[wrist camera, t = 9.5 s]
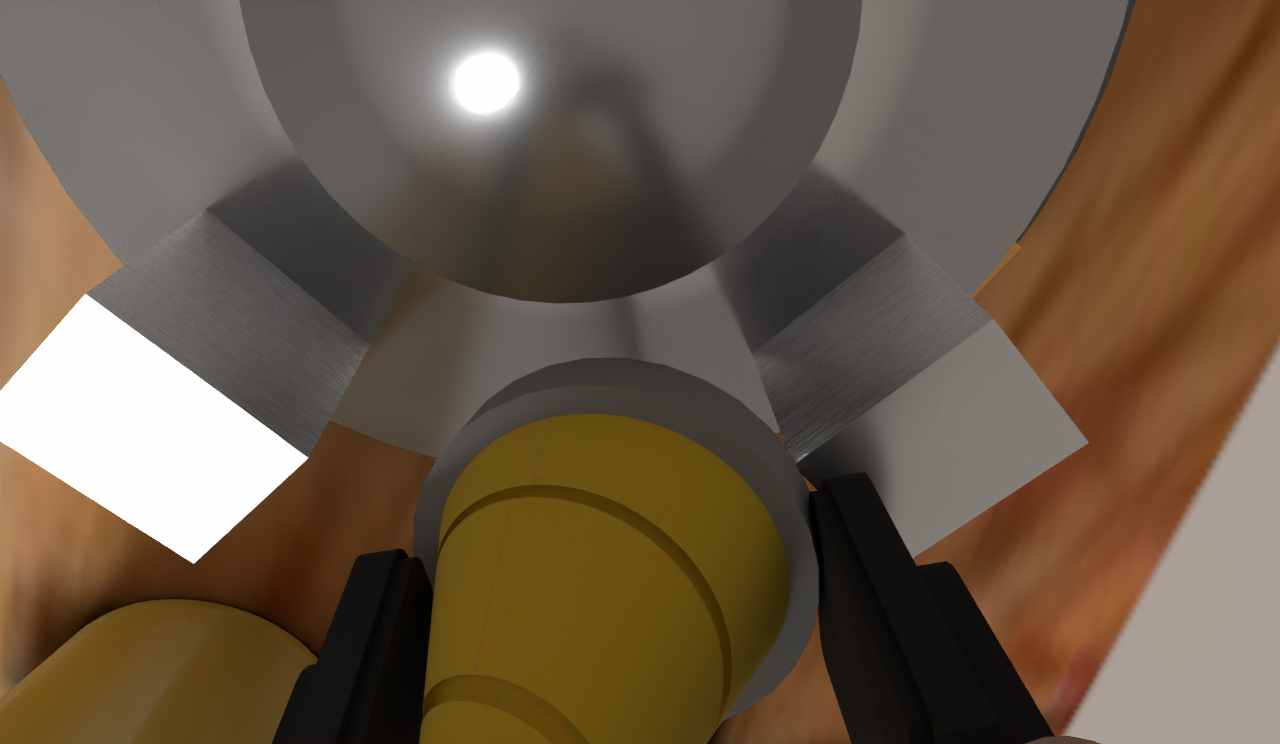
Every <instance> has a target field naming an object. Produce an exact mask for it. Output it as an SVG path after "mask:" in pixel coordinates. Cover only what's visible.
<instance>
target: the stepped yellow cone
mask: <svg viewBox="0 0 1280 744" xmlns="http://www.w3.org/2000/svg"><path fill="white" fill-rule="evenodd" d="M809 493H810V491H809V489H808V487H807V485H806V483H805V481H804V479H803V477H802V475H801V473H800V472H799V470H798V468H797V466H796V465H795V460H794V458H793V457H792V455H791V454H790V453H789V451H788V450H787V449H786V448H785V446H784V445H783V444H782V442H781V441H780V440H779V438H778V437H777V436H776V435H775V433H774V432H773V431H772V429H771V428H770V427H769V426H768V425H767V424H766V423H765V422H763V421H762V420H761V419H760V418H759V417H758V416H757V415H755V414H754V413H753V412H752V411H751V410H750V409H749V408H748V407H746V406H745V405H744V404H743V403H742V402H741V401H740V400H738V399H736V398H735V397H733V396H731V395H730V394H728V393H726V392H725V391H723V390H721V389H720V388H718V387H716V386H714V385H713V384H711V383H709V382H708V381H706V380H704V379H702V378H699V377H697V376H694V375H691V374H689V373H686V372H683V371H680V370H678V369H675V368H672V367H670V366H667V365H664V364H658V363H652V362H647V361H641V360H635V359H629V358H583V359H578V360H573V361H568V362H564V363H559V364H554V365H549V366H546V367H544V368H541V369H539V370H537V371H535V372H532V373H530V374H528V375H525V376H523V377H521V378H519V379H516V380H514V381H513V382H511V383H510V384H509V385H507V386H506V387H504V388H503V389H502V390H500V391H499V392H498V393H496V394H495V395H493V396H492V397H491V398H489V399H488V400H487V401H486V402H485V403H484V404H483V405H482V406H481V407H480V409H479V410H478V411H477V412H476V413H475V414H474V415H473V417H472V418H471V419H470V420H469V421H468V422H467V423H466V425H465V426H464V427H463V428H462V429H461V430H460V431H459V433H458V434H457V435H456V436H455V437H454V438H453V440H452V441H451V442H450V443H449V444H448V445H447V447H446V448H445V449H444V450H443V451H442V452H441V453H440V455H439V456H438V457H437V459H436V460H435V462H434V464H433V466H432V468H431V470H430V472H429V474H428V476H427V478H426V480H425V482H424V484H423V486H422V489H421V493H420V497H419V501H418V505H417V510H416V514H415V518H414V554H415V557H419V558H420V559H421V560H422V563H423V565H424V567H425V570H426V573H427V576H428V578H429V581H430V584H431V587H432V590H433V592H434V596H433V606H432V617H431V627H430V637H429V648H428V658H427V668H426V679H425V689H424V699H423V712H422V714H423V721H422V724H421V730H420V741H419V744H707V742H708V741H709V740H710V738H711V737H712V735H713V734H714V732H715V731H716V730H717V728H718V727H719V725H720V724H721V722H722V721H724V720H727V719H729V718H731V717H733V716H735V715H737V714H740V713H742V712H744V711H746V710H747V709H749V708H750V707H751V706H753V705H754V704H756V703H757V702H758V701H760V700H761V699H762V698H764V697H765V696H767V695H768V694H769V693H771V692H772V691H773V690H774V689H775V688H776V687H777V686H778V685H779V683H780V682H781V681H782V680H783V679H784V678H785V677H786V675H787V674H788V673H789V672H790V671H791V670H792V669H793V667H794V666H795V665H796V663H797V661H798V659H799V657H800V655H801V653H802V651H803V650H804V648H805V646H806V644H807V642H808V640H809V638H810V636H811V633H812V628H813V624H814V620H815V616H816V612H817V608H818V604H819V561H818V546H817V541H816V536H815V530H814V525H813V520H812V514H811V509H810V504H809Z"/></svg>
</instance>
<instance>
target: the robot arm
mask: <svg viewBox="0 0 1280 744" xmlns="http://www.w3.org/2000/svg"><path fill="white" fill-rule="evenodd" d="M809 504H810V509H811V514H812V520H813V525H814V530H815V536H816V541H817V546H818V561H819V604H818V615H819V628H820V639H821V646H822V651H823V656H824V660H825V664H826V667H827V671H828V674H829V677H830V680H831V683H832V686H833V689H834V692H835V695H836V698H837V701H838V704H839V707H840V710H841V713H842V716H843V719H844V722H845V725H846V728H847V731H848V734H849V737H850V740H851V743H852V744H1100V743H1097V742H1095V741H1091V740H1086V739H1081V738H1076V737H1071V736H1054V734H1053V732H1052V731H1051V729H1050V727H1049V726H1048V724H1047V722H1046V721H1045V719H1044V717H1043V716H1042V714H1041V712H1040V710H1039V709H1038V707H1037V705H1036V704H1035V702H1034V700H1033V699H1032V697H1031V695H1030V694H1029V692H1028V690H1027V689H1026V687H1025V685H1024V683H1023V682H1022V680H1021V678H1020V677H1019V675H1018V673H1017V672H1016V670H1015V668H1014V667H1013V665H1012V663H1011V662H1010V660H1009V658H1008V656H1007V655H1006V653H1005V651H1004V650H1003V648H1002V646H1001V645H1000V643H999V641H998V640H997V638H996V636H995V635H994V633H993V631H992V629H991V628H990V626H989V624H988V623H987V621H986V619H985V618H984V616H983V614H982V613H981V611H980V609H979V608H978V606H977V604H976V602H975V601H974V599H973V597H972V596H971V594H970V592H969V591H968V589H967V587H966V586H965V584H964V582H963V581H962V579H961V577H960V575H959V574H958V572H957V571H956V570H955V568H954V567H953V566H952V565H951V564H950V563H948V562H947V561H946V562H940V563H933V564H927V565H921V566H916V564H915V562H914V560H913V558H912V556H911V555H910V553H909V551H908V549H907V547H906V545H905V543H904V541H903V540H902V538H901V536H900V534H899V532H898V530H897V528H896V526H895V525H894V523H893V521H892V519H891V517H890V515H889V513H888V511H887V509H886V508H885V506H884V504H883V502H882V500H881V498H880V496H879V494H878V493H877V491H876V489H875V487H874V485H873V483H872V481H871V479H870V478H869V476H868V475H867V473H865V472H859V473H853V474H847V475H841V476H835V477H829V478H824V479H823V482H822V490H818V491H812V492H810V493H809ZM433 596H434V592H433V590H432V587H431V584H430V581H429V578H428V576H427V573H426V570H425V567H424V565H423V563H422V560H421V559H420V558H419V557H412V558H409V557H408V555H407V553H406V552H405V551H404V550H403V549H394V550H388V551H382V552H376V553H370V554H364V555H360V556H359V557H357V559H356V561H355V563H354V565H353V568H352V570H351V573H350V576H349V578H348V581H347V584H346V586H345V589H344V592H343V594H342V597H341V600H340V602H339V605H338V607H337V610H336V613H335V615H334V618H333V621H332V623H331V626H330V629H329V631H328V634H327V637H326V639H325V642H324V644H323V647H322V650H321V652H320V655H319V658H318V660H317V663H316V664H313V665H308V666H307V667H306V668H305V669H303V670H302V672H301V673H300V675H299V677H298V679H297V681H296V683H295V686H294V688H293V691H292V693H291V696H290V698H289V701H288V703H287V706H286V708H285V711H284V713H283V716H282V718H281V721H280V723H279V726H278V728H277V731H276V733H275V736H274V738H273V741H272V744H419V741H420V730H421V724H422V721H423V714H422V712H423V699H424V689H425V679H426V668H427V658H428V648H429V637H430V627H431V617H432V606H433Z"/></svg>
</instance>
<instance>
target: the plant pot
mask: <svg viewBox="0 0 1280 744" xmlns="http://www.w3.org/2000/svg"><path fill="white" fill-rule="evenodd" d="M317 660H318V658H317V657H316V656H315V655H314V654H313V653H311V652H310V651H309V650H308V649H307V647H306V646H305V645H303V644H302V643H301V642H300V641H299V640H297V639H296V638H295V637H294V636H293V635H291V634H289V633H288V632H286V631H285V630H283V629H281V628H280V627H278V626H277V625H275V624H273V623H271V622H269V621H267V620H265V619H263V618H261V617H259V616H256V615H254V614H252V613H249V612H246V611H243V610H240V609H237V608H234V607H230V606H227V605H222V604H217V603H213V602H206V601H199V600H187V599H163V600H151V601H145V602H138V603H134V604H131V605H128V606H125V607H121V608H118V609H116V610H114V611H111V612H109V613H107V614H105V615H103V616H101V617H99V618H98V619H96V620H94V621H93V622H91V623H89V624H88V625H86V626H85V627H84V628H82V629H81V630H80V631H79V632H77V633H76V634H75V635H74V636H73V637H72V638H71V639H69V640H68V641H67V642H66V643H65V644H64V645H62V646H61V647H60V648H59V649H58V650H57V651H55V652H54V653H53V654H52V655H51V656H50V657H49V658H47V659H46V660H45V661H44V662H43V663H42V664H40V665H39V666H38V667H37V668H36V669H35V670H33V671H32V672H31V673H30V674H29V675H28V676H26V677H25V678H24V679H23V680H22V681H20V682H19V683H18V684H17V685H16V686H15V687H13V688H12V689H11V690H10V691H9V692H7V693H6V694H5V695H4V696H3V697H1V698H0V744H272V741H273V738H274V736H275V733H276V731H277V728H278V726H279V723H280V721H281V718H282V716H283V713H284V711H285V708H286V706H287V703H288V701H289V698H290V696H291V693H292V691H293V688H294V686H295V683H296V681H297V679H298V677H299V675H300V673H301V672H302V670H303V669H305V668H306V667H307V666H308V665H313V664H316V663H317Z"/></svg>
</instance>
